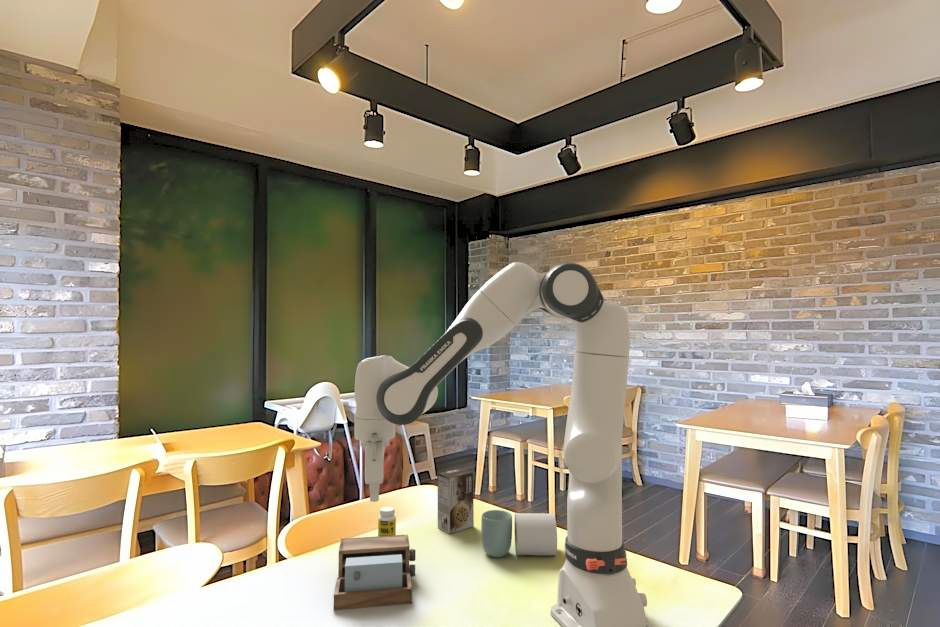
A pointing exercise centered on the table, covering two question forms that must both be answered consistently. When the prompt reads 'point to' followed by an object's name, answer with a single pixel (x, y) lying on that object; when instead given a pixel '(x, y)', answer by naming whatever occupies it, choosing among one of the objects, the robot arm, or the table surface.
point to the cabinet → (367, 549)
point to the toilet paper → (535, 534)
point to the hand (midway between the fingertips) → (374, 493)
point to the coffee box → (455, 500)
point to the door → (373, 573)
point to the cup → (496, 532)
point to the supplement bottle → (387, 522)
